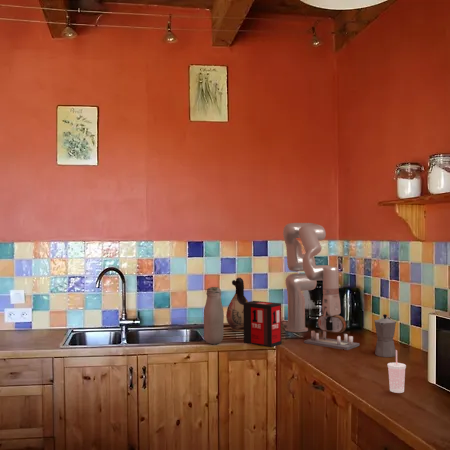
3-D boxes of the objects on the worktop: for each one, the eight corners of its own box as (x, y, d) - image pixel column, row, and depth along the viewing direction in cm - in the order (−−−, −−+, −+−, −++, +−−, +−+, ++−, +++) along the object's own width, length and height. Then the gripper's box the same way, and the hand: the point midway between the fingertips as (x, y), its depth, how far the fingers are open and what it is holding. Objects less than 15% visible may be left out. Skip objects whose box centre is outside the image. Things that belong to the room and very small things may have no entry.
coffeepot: (393, 359, 220) (392, 317, 220) (371, 356, 225) (370, 315, 225) (400, 351, 234) (399, 312, 234) (379, 349, 238) (378, 310, 239)
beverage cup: (402, 387, 180) (401, 348, 180) (409, 393, 174) (408, 352, 174) (385, 388, 180) (384, 348, 180) (391, 393, 174) (390, 352, 174)
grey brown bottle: (206, 346, 248) (206, 288, 248) (201, 342, 258) (201, 286, 258) (226, 345, 251) (225, 287, 251) (220, 340, 261) (220, 285, 261)
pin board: (304, 343, 254) (304, 332, 254) (317, 339, 263) (317, 328, 263) (347, 350, 238) (346, 338, 238) (359, 345, 247) (359, 334, 247)
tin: (346, 333, 246) (346, 316, 247) (343, 334, 244) (343, 316, 244) (319, 330, 256) (320, 313, 257) (316, 330, 254) (316, 313, 255)
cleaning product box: (243, 342, 256) (243, 302, 256) (254, 339, 263) (254, 300, 263) (271, 347, 245) (270, 305, 245) (281, 344, 252) (281, 303, 252)
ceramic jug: (222, 328, 293) (222, 276, 294) (248, 327, 298) (247, 275, 298) (232, 334, 277) (231, 278, 277) (258, 332, 282) (258, 277, 282)
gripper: (328, 294, 242) (329, 333, 242) (346, 291, 254) (346, 328, 254) (315, 292, 247) (315, 331, 247) (332, 289, 259) (333, 326, 259)
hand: (331, 329), depth 250 cm, fingers closed on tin, 2 cm apart
